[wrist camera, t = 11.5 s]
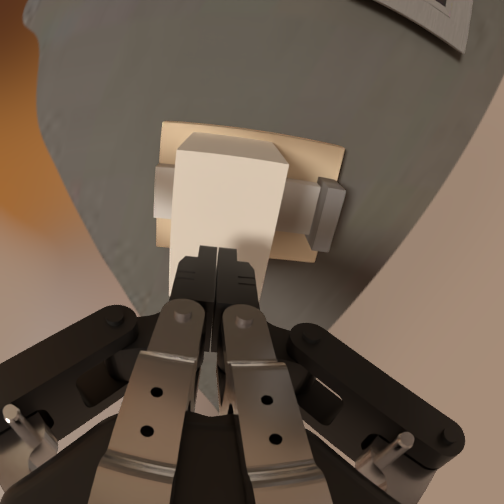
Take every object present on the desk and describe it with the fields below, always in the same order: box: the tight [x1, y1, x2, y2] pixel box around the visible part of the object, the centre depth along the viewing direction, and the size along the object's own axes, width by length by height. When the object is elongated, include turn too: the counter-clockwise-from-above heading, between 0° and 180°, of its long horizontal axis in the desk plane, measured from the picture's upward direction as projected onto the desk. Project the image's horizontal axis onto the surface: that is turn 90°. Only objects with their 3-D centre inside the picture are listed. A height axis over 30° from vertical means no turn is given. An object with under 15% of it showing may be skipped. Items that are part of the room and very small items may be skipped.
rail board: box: [154, 121, 346, 263], centre depth 20 cm, size 9×12×3 cm
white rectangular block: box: [169, 132, 289, 301], centre depth 17 cm, size 8×5×6 cm, turn 171°
